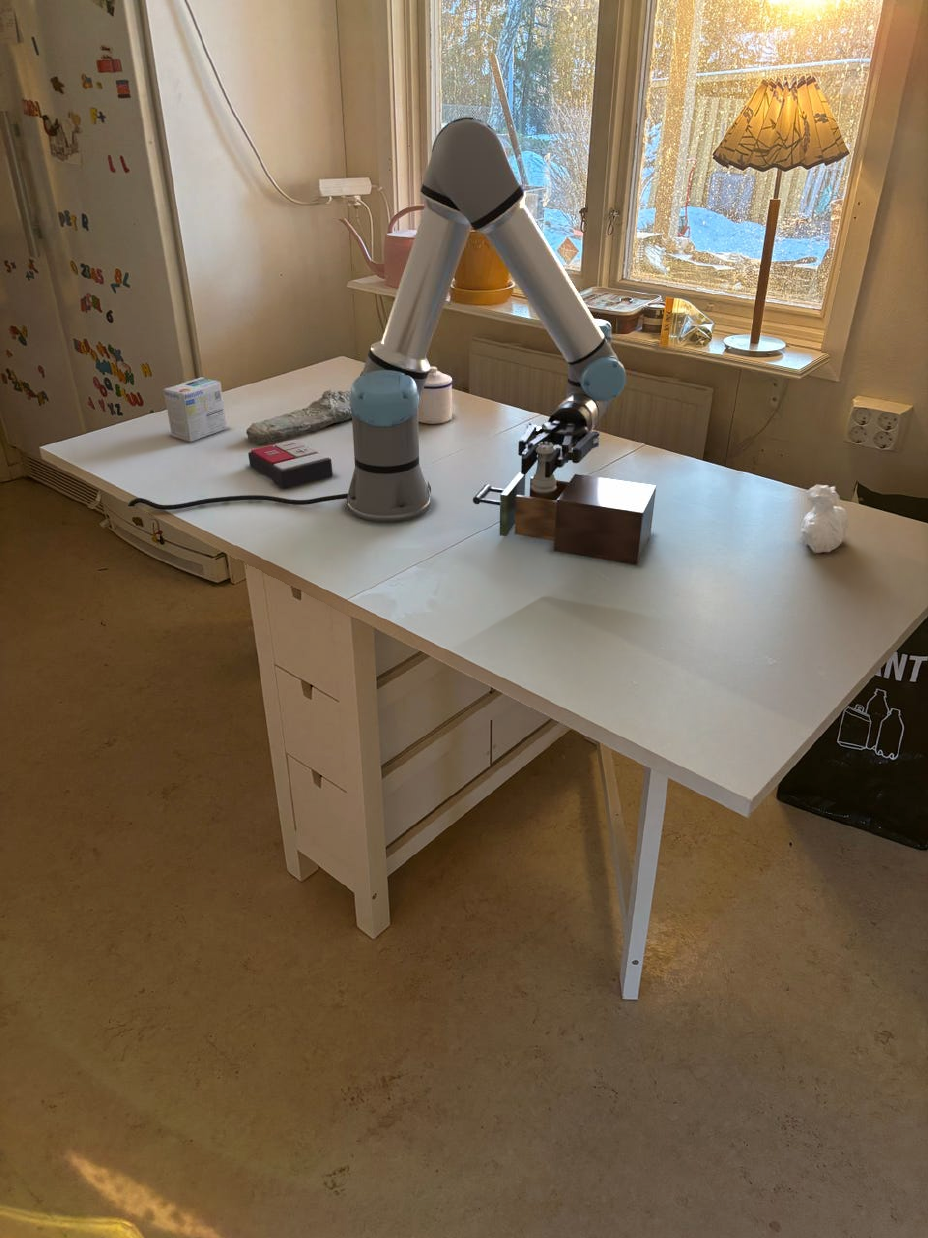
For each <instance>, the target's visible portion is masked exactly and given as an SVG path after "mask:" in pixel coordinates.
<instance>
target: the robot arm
mask: <svg viewBox="0 0 928 1238" xmlns="http://www.w3.org/2000/svg"><path fill="white" fill-rule="evenodd" d="M428 162H429V163H428V166H427V169H426V172H425V175H424V178H423V181H422V185H421V187H420V191H419V194H420V198H421V200H422V201H423V204H424V208H423V212H422V215H421V218H420V221H419V224H418V226H417V229H416V232H415V236H414V239H413V243H412V246H411V248H410V252H409V254H408V257H407V260H406V263H405V267H404V270H403V273H402V276H401V279H400V282H399V285H398V288H397V291H396V294H395V297H394V300H393V304H392V307H391V310H390V313H389V316H388V318H387V322H386V326H385V329H384V331H383V335H382V338H381V339H380V340H378V341H377V342H374V343H372V344H371V345H370V347H369V348H370V349H369V351H368V354H367V357H366V360H365V363H364V367H363V369H362V371H361V372H360V374H359V376H358V377H356V378H355V379H354V381H353V382H352V383H351V385H350V391H351V394H350V399H349V400H350V407H351V411H352V418H351V425H352V441H353V456H354V457H353V458H354V469H353V473H352V476H351V480H350V484H349V488H348V490H347V493H341V494H334V495H325V496H320V497H315V498H309V499H291V498H284V497H279V496H272V495H265V494H264V495H263V494H261V495H259V494H245V495H229V496H219V497H210V498H203V499H198V500H197V499H196V500H192V501H188V502H183V503H176V504H159V503H156V502H154V501H151V500H148V499H146V498H143V497H136V498H134V499H132V500H131V501H130V502H129V503H128V505H127V507H134V506H135V505H137V504H143V505H146V506H149V507H150V508H153V509H155V510H161V511H171V510H181V509H187V508H191V507H196V506H200V505H201V506H202V505H208V504H215V503H226V502H236V501H237V502H238V501H267V502H275V503H280V504H286V505H293V506H294V505H295V506H305V505H306V506H307V505H314V504H318V503H324V502H325V503H326V502H331V501H339V500H345V499H346V505H347V510H348V511H349V513H350V514H351V515H353V516H354V517H356V518H359V519H361V520H364V521H368V522H374V523H398V522H405V521H409V520H412V519H415V518H418V517H420V516H422V515H424V514H425V513H427V512H428V510H429V509H430V507H431V496H430V495H431V494H432V487H431V484H430V483H429V481H427V482H426V479H425V477H424V474H423V471H422V468H421V466H420V465H421V464H420V435H419V434H420V431H419V430H420V429H419V421H418V413H419V400H420V397H421V394H422V391H423V388H424V385H425V383H426V380H427V377H428V374H429V371H430V367H431V365H430V362H429V360H428V359H427V358H428V357H427V354H428V352H429V349H430V346H431V343H432V341H433V338H434V336H435V332H436V329H437V326H438V323H439V321H440V318H441V315H442V313H443V309H444V307H445V303H446V301H447V297H448V295H449V292H450V289H451V287H452V284H453V281H454V278H455V276H456V273H457V272H456V271H457V269H458V266H459V264H460V262H461V258H462V257H463V253H464V249H465V247H466V244H467V241H468V238H469V236H470V233H471V230H472V229H473V231H474V232H475V233H479V234H483V235H485V237H486V239H487V240H488V242H489V243H490V245H491V247H492V248H493V249H494V251H495V252H496V254H497V255H498V258H499V259H500V260H501V262H502V263H503V265H504V267H505V268H506V270H507V271H508V273H509V274H510V276H511V277H512V279H513V281H514V282H515V284H516V285H517V286H518V288H519V290H520V291H521V293H522V294H523V296H524V298H525V299H526V301H527V303H528V304H529V305H530V307H531V308H532V310H533V311H534V313H535V315H536V316H537V317H538V319H539V321H540V323H541V324H542V325H543V327H544V329H545V330H546V332H547V334H549V336H550V338H551V339H552V341H553V343H554V344H555V346H556V347H557V349H558V350H559V352H560V354H561V355H562V357H563V358H564V359H565V361H566V363H567V364H568V369H567V381H566V396H565V398H564V400H563V401H562V402H561V403H560V404H559V405H558V406H557V408H556V409H555V410H554V411H553V412H552V413H551V415H550V416H549V418H548V419H547V422H544V423H543V424H541V426H538V425H536V424H534V423H533V422H527V423H526V430H524V432H523V434H522V435H521V437H520V438H519V440H518V450H517V451H518V452H517V453H518V456H521V462H520V463H521V464H520V472H521V474H525V476H526V475H527V473H528V472H529V471H530V470H531V469H532V467H534V465H535V464H536V463H537V462H538V460H537V457H538V453H537V452H536V448H537V447H538V444H540V443H541V442H543V445H545V442H548V445H549V443H552V445H553V447H555V446H559V447H556V448H554V449H555V450H554V452H553V453H552V454H551V455H550V457H549V458H548V459H547V460H546V463H545V477H546V478H550V476H551V475H552V474H553V475H554V472H556V470H557V469H558V468H563V467H564V466H565V464H567V463H568V464H569V462H570V461H571V462H572V463H573V464H579V463H580V462H581V461H582V460H584V458H585V457H586V456H587V455H588V454H589V453H590V452H591V450H593V449H595V448H598V447H599V446H600V444H599V443H600V431H598V430H594V428H595V427H596V425H597V424H598V422H599V421H600V420H602V418H604V416H605V414H606V413H607V411H608V409H609V406H610V402H611V401H612V400H614V399H616V398H617V397H619V395H620V394H621V393H622V392H623V390H624V388H625V386H626V383H627V372H626V368H625V366H624V364H623V363H622V361H621V360H620V359H619V358H618V355H617V354H616V352H615V351H614V350H613V348H612V341H613V336H612V325H611V323H610V322H609V321H607V320H604V319H599V318H594V317H593V315H592V313H591V311H590V310H589V308H588V306H587V305H586V303H585V301H584V300H583V298H582V296H581V295H580V293H579V291H578V290H577V289H576V287H575V285H574V283H573V282H572V280H571V279H570V277H569V275H568V273H567V272H566V270H565V269H564V267H563V265H562V264H561V262H560V260H559V259H558V258H557V255H556V254H555V252H554V250H553V249H552V247H551V245H550V243H549V242H548V240H547V239H546V237H545V236H544V233H542V230H541V228H539V226H538V224H537V223H536V221H535V220H534V218H533V216H532V215H531V213H530V211H529V209H528V207H527V206H526V204H525V199H526V192H525V190H524V188H523V187H522V185H521V183H520V181H519V180H518V178H517V176H516V174H515V172H514V169H513V167H512V165H511V162H510V160H509V157H508V155H507V152H506V149H505V146H504V144H503V142H502V140H501V139H500V137H499V135H498V134H497V132H496V130H495V129H494V128H493V127H492V126H491V125H490V124H488V123H486V122H485V121H483V120H482V119H477V118H475V117H468V116H464V117H463V116H462V117H459V118H455V119H453V120H451V121H450V122H448V123H447V124H445V125H444V126H443V127H442V128H441V129H440V130H439V132H438V133H437V134H436V137H435V139H434V142H433V144H432V149H431V156H430V160H429V161H428ZM593 430H594V431H593Z"/></svg>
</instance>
